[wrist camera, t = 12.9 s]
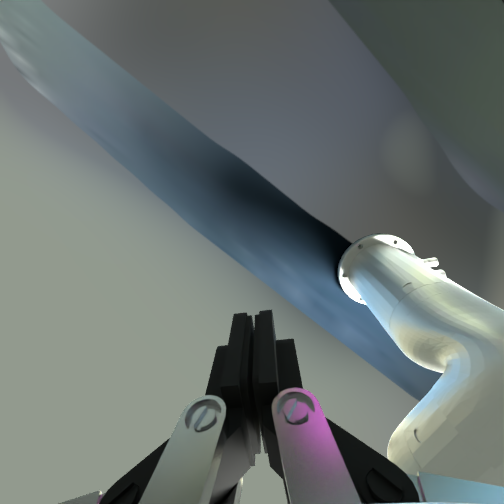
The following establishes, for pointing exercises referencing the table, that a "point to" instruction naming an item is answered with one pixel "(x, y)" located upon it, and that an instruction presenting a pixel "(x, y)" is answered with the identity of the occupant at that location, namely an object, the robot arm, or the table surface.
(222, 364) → the robot arm
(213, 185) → the table surface
